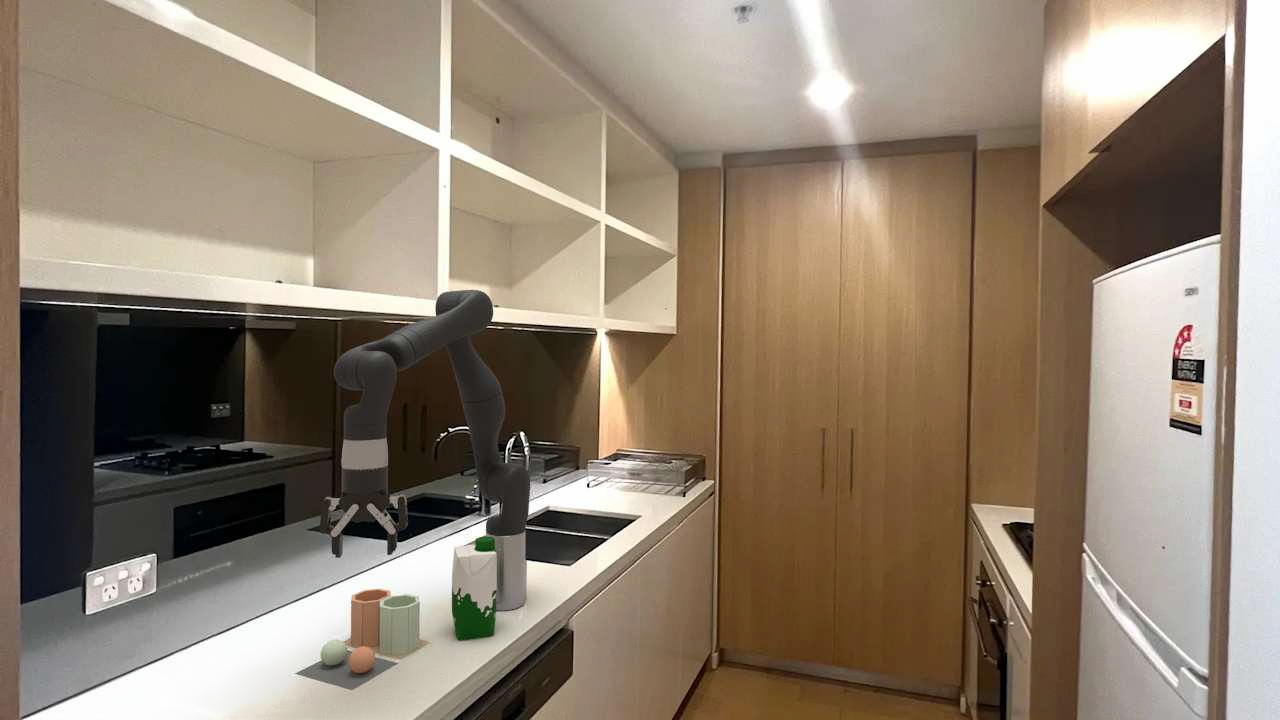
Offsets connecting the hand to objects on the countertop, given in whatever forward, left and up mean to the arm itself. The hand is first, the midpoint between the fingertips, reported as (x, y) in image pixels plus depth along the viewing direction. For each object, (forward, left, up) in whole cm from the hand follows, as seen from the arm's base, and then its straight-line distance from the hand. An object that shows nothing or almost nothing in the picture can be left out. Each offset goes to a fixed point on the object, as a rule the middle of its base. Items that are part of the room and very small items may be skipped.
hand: (364, 555), depth 117 cm
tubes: (-14, -9, -23) cm, 29 cm away
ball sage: (-3, -10, -23) cm, 25 cm away
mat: (-3, -7, -23) cm, 24 cm away
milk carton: (-26, +4, -24) cm, 35 cm away
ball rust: (-3, -3, -23) cm, 23 cm away
